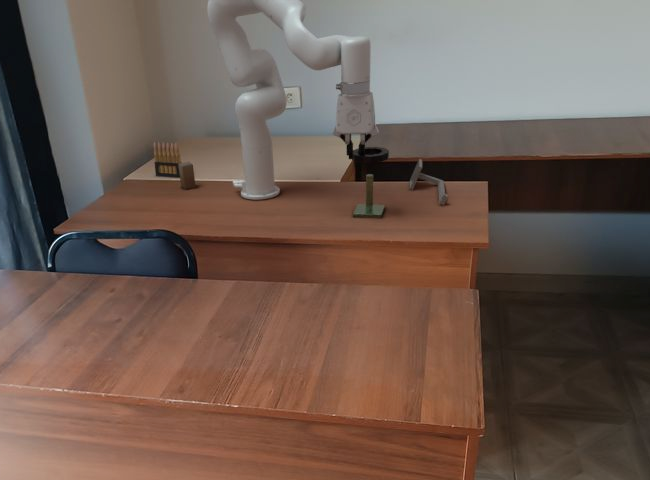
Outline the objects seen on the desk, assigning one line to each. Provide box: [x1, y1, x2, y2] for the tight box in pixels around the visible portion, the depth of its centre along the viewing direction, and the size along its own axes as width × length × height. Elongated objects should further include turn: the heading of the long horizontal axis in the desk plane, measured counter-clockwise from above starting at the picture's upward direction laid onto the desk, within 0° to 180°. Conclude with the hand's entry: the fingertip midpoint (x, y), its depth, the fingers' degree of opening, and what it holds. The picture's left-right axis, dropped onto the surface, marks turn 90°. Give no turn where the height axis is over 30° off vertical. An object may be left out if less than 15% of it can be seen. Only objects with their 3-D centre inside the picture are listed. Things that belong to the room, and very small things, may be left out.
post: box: [352, 173, 386, 219], centre depth 190 cm, size 8×8×11 cm
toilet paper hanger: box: [409, 158, 449, 206], centre depth 203 cm, size 23×9×8 cm, turn 168°
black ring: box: [350, 146, 390, 164], centre depth 184 cm, size 10×10×2 cm
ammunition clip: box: [153, 141, 183, 179], centre depth 236 cm, size 11×2×12 cm, turn 66°
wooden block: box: [178, 161, 196, 190], centre depth 224 cm, size 4×4×8 cm
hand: (355, 157), depth 186 cm, fingers closed on black ring, 2 cm apart
